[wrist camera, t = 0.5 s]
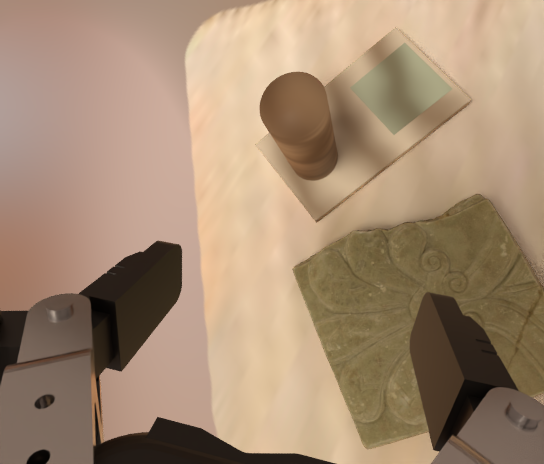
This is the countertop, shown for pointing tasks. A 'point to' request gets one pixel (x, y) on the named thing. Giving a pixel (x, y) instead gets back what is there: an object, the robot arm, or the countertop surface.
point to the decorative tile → (405, 305)
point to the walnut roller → (301, 124)
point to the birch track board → (374, 119)
